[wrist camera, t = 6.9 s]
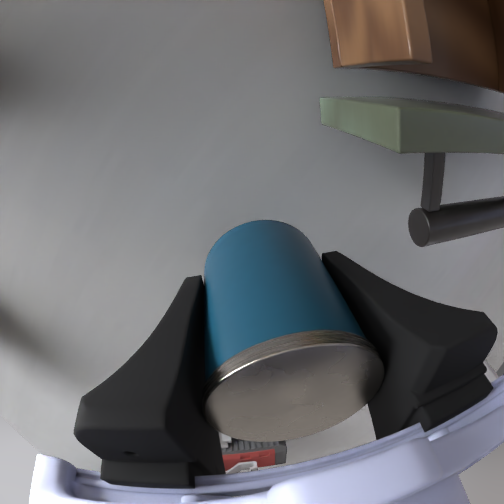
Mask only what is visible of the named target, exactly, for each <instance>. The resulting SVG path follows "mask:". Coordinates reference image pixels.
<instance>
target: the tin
mask: <svg viewBox="0 0 504 504" xmlns="http://www.w3.org/2000/svg"><path fill="white" fill-rule="evenodd" d="M204 350H205V385H204V388H203V391H202V410H203V415H204V417H205V419H206V421H207V422H208V423H209V425H210V426H211V427H213V428H214V429H215V430H216V431H218V432H220V433H222V434H224V435H227V436H229V437H232V438H236V439H240V440H246V441H255V442H273V441H284V440H290V439H296V438H300V437H304V436H308V435H311V434H314V433H317V432H320V431H323V430H325V429H328V428H330V427H332V426H334V425H336V424H338V423H340V422H342V421H344V420H346V419H347V418H349V417H350V416H352V415H353V414H355V413H356V412H357V411H359V410H360V409H361V408H362V407H364V406H365V405H366V404H367V403H368V402H369V401H370V400H371V399H372V398H373V396H374V395H375V394H376V392H377V391H378V389H379V388H380V386H381V384H382V381H383V378H384V364H383V361H382V359H381V357H380V355H379V354H378V352H377V350H376V348H375V347H374V345H373V344H372V343H371V342H369V341H368V340H367V339H366V337H365V335H364V334H363V332H362V330H361V328H360V326H359V325H358V323H357V321H356V319H355V317H354V316H353V314H352V312H351V310H350V308H349V307H348V305H347V303H346V301H345V300H344V298H343V296H342V294H341V293H340V291H339V289H338V287H337V286H336V284H335V282H334V281H333V279H332V277H331V275H330V274H329V272H328V270H327V269H326V267H325V265H324V264H323V262H322V260H321V259H320V257H319V255H318V254H317V252H316V250H315V249H314V247H313V245H312V244H311V242H310V241H309V239H308V238H307V237H306V236H305V235H304V234H303V233H302V232H301V231H299V230H298V229H297V228H295V227H293V226H291V225H289V224H286V223H283V222H279V221H273V220H258V221H252V222H248V223H244V224H242V225H239V226H237V227H235V228H233V229H232V230H230V231H228V232H227V233H226V234H224V235H223V236H222V237H221V238H220V239H219V240H218V241H217V242H216V243H215V244H214V246H213V247H212V249H211V250H210V252H209V254H208V257H207V259H206V263H205V271H204Z"/></svg>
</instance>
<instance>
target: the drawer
mask: <svg viewBox="0 0 504 504" xmlns="http://www.w3.org/2000/svg"><path fill="white" fill-rule="evenodd" d="M323 1H324V6H325V12H326V18H327V24H328V30H329V37H330V44H331V52H332V60H333V67H334V68H347V69H368V70H382V71H393V72H402V73H410V74H417V75H424V76H430V77H436V78H442V79H447V80H452V81H457V82H461V83H465V84H470V85H474V86H478V87H482V88H485V89H489V90H492V91H496V92H500V93H504V0H323ZM320 110H321V122H322V125H325V126H328V127H331V128H334V129H337V130H340V131H343V132H346V133H348V134H351V135H354V136H357V137H359V138H362V139H365V140H367V141H370V142H372V143H375V144H377V145H380V146H382V147H385V148H387V149H390V150H392V151H394V152H397V153H399V154H406V153H425V158H424V175H423V187H422V198H421V207H422V208H416V209H414V210H412V211H411V213H410V215H409V220H408V227H409V232H410V236H411V238H412V240H413V242H414V243H415V244H416V245H417V246H420V247H425V246H429V245H433V244H438V243H442V242H446V241H450V240H455V239H459V238H463V237H467V236H471V235H475V234H479V233H483V232H488V231H491V230H495V229H499V228H503V227H504V196H502V197H494V198H487V199H479V200H472V201H464V202H457V203H450V204H443V205H440V203H441V195H442V186H443V176H444V164H445V153H494V154H504V113H501V112H497V111H492V110H487V109H482V108H477V107H471V106H465V105H459V104H452V103H445V102H436V101H427V100H417V99H404V98H387V97H321V98H320Z"/></svg>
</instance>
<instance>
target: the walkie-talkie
mask: <svg viewBox="0 0 504 504" xmlns="http://www.w3.org/2000/svg"><path fill="white" fill-rule="evenodd" d="M219 438H220V444H221V450H222V456H223V461H224V467H225V471H226V474H233V473H238V472H239V471H241V470H247V469H251V471H257V470H258V467H264V466H271V465H277V464H283V463H286V454H287V447H286V442H285V440H284V441H273V442H255V441H246V440H240V439H236V438H232V437H229V436H227V435H224V434H222V433H220V432H219Z"/></svg>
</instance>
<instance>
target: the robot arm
mask: <svg viewBox="0 0 504 504" xmlns="http://www.w3.org/2000/svg"><path fill="white" fill-rule="evenodd" d="M322 262H323V264H324V265H325V267H326V269H327V270H328V272H329V274H330V275H331V277H332V279H333V281H334V282H335V284H336V286H337V287H338V289H339V291H340V293H341V294H342V296H343V298H344V300H345V301H346V303H347V305H348V307H349V308H350V310H351V312H352V314H353V316H354V317H355V319H356V321H357V323H358V325H359V326H360V328H361V330H362V332H363V334H364V335H365V337H366V339H367V340H368V341H369V342H371V343H372V344H373V345H374V347H375V348H376V350H377V352H378V354H379V355H380V357H381V359H382V361H383V364H384V378H383V381H382V384H381V386H380V388H379V389H378V391H377V392H376V394H375V395H374V396H373V398H372V399H371V400H370V401H369V402H368V403H367V404H368V407H369V411H370V414H371V418H372V422H373V426H374V431H375V435H376V441H373V442H370V443H367V444H364V445H362V446H359V447H355V448H352V449H349V450H346V451H343V452H339V453H336V454H332V455H329V456H325V457H321V458H317V459H313V460H309V461H305V462H300V463H296V464H291V465H286V466H281V467H276V468H270V469H264V470H257V471H250V472H242V473H233V474H226V472H225V467H224V461H223V456H222V450H221V444H220V438H219V432H218V431H216V430H215V429H214V428H213V427H211V426H210V425H209V423H208V422H207V421H206V419H205V417H204V415H203V410H202V391H203V388H204V385H205V350H204V283H203V280H202V276H201V275H199V276H193V277H187V278H186V279H185V280H184V282H183V284H182V286H181V287H180V289H179V291H178V293H177V295H176V297H175V298H174V300H173V302H172V303H171V305H170V307H169V309H168V310H167V312H166V313H165V315H164V317H163V318H162V320H161V321H160V323H159V324H158V325H157V327H156V328H155V330H154V331H153V333H152V334H151V335H150V337H149V338H148V339H147V340H146V342H145V343H144V344H143V345H142V346H141V347H140V349H139V350H138V351H137V352H136V353H135V354H134V355H133V356H132V357H131V358H130V359H129V360H128V361H127V362H126V363H125V364H124V365H123V366H122V367H121V368H119V369H118V370H117V371H116V372H115V373H114V374H113V375H111V376H110V377H109V378H108V379H107V380H105V381H104V382H103V383H101V384H100V385H99V386H97V387H96V388H94V389H93V390H91V391H90V392H89V393H87V394H86V395H84V396H83V397H82V398H81V402H80V405H79V409H78V413H77V418H76V422H75V427H74V435H75V437H76V438H77V440H78V441H79V442H80V443H81V444H82V445H84V446H85V447H86V448H88V449H89V450H90V451H92V452H93V453H94V454H96V455H97V456H98V457H100V458H101V459H102V465H101V472H97V471H90V470H84V469H78V468H76V467H75V466H74V465H72V464H71V463H69V462H67V461H65V460H63V459H60V458H56V457H51V456H47V455H43V454H38V455H37V458H36V463H35V468H34V473H33V479H32V485H31V492H30V500H29V504H470V502H469V499H468V497H467V494H466V492H465V490H464V487H463V485H462V483H461V480H460V478H459V476H458V474H460V473H461V472H463V471H464V470H466V469H468V468H469V467H471V466H472V465H473V464H475V463H476V462H478V461H479V460H481V459H482V458H484V457H485V456H486V455H488V454H489V453H490V452H492V451H493V450H494V449H496V448H497V447H498V446H500V445H501V444H502V443H503V442H504V374H503V375H502V376H500V377H499V378H497V379H496V380H494V381H493V382H491V383H490V381H489V380H488V378H487V377H486V375H485V374H484V373H486V371H487V368H486V366H485V365H484V363H483V362H484V360H485V358H486V357H487V355H488V353H489V352H490V350H491V348H492V347H493V345H494V343H495V341H496V337H497V327H496V326H495V325H494V324H493V323H492V321H491V320H490V319H489V318H488V317H487V316H486V314H485V313H484V312H479V311H473V310H466V309H461V308H456V307H452V306H448V305H444V304H441V303H437V302H434V301H431V300H428V299H426V298H423V297H420V296H417V295H415V294H412V293H410V292H408V291H406V290H403V289H401V288H399V287H397V286H395V285H393V284H391V283H389V282H387V281H385V280H384V279H382V278H380V277H378V276H376V275H375V274H373V273H371V272H370V271H368V270H366V269H365V268H363V267H362V266H360V265H358V264H357V263H355V262H354V261H352V260H351V259H349V258H347V257H346V256H344V255H343V254H341V253H339V252H337V251H332V252H327V253H322ZM243 495H245V496H243ZM233 496H239V497H233Z"/></svg>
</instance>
